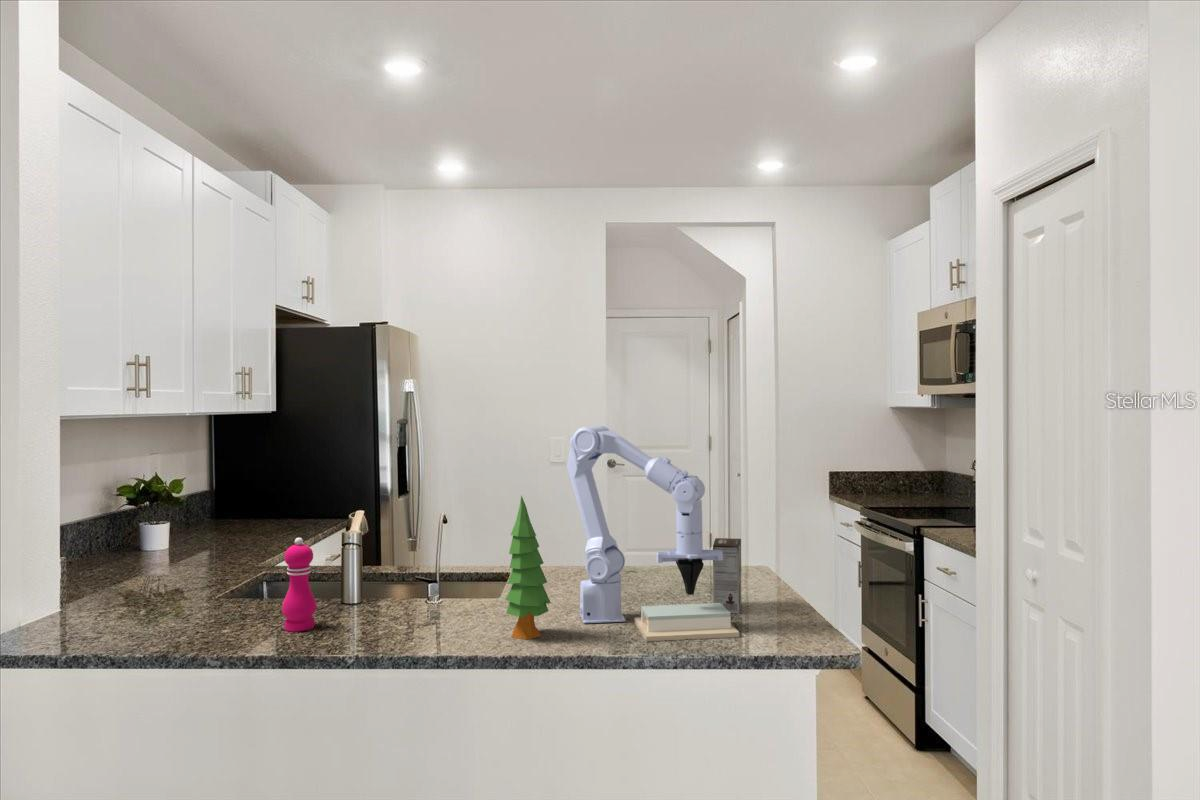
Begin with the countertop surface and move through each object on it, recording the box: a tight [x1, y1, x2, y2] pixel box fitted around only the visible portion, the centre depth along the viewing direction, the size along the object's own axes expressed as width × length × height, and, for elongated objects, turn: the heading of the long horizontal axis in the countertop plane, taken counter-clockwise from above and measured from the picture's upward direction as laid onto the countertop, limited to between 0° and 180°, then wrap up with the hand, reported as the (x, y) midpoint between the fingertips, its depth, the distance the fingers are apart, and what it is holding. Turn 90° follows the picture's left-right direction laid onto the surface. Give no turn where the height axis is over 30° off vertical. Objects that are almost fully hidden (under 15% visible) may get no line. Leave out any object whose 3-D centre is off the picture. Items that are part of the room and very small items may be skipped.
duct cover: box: [640, 602, 732, 620], centre depth 177 cm, size 18×8×1 cm, turn 98°
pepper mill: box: [281, 537, 318, 633], centre depth 179 cm, size 7×7×20 cm
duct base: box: [633, 610, 740, 642], centre depth 177 cm, size 20×14×4 cm
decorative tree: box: [505, 495, 551, 640], centre depth 173 cm, size 10×9×30 cm
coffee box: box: [712, 537, 742, 615], centre depth 194 cm, size 9×6×16 cm
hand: (689, 593), depth 178 cm, fingers closed
